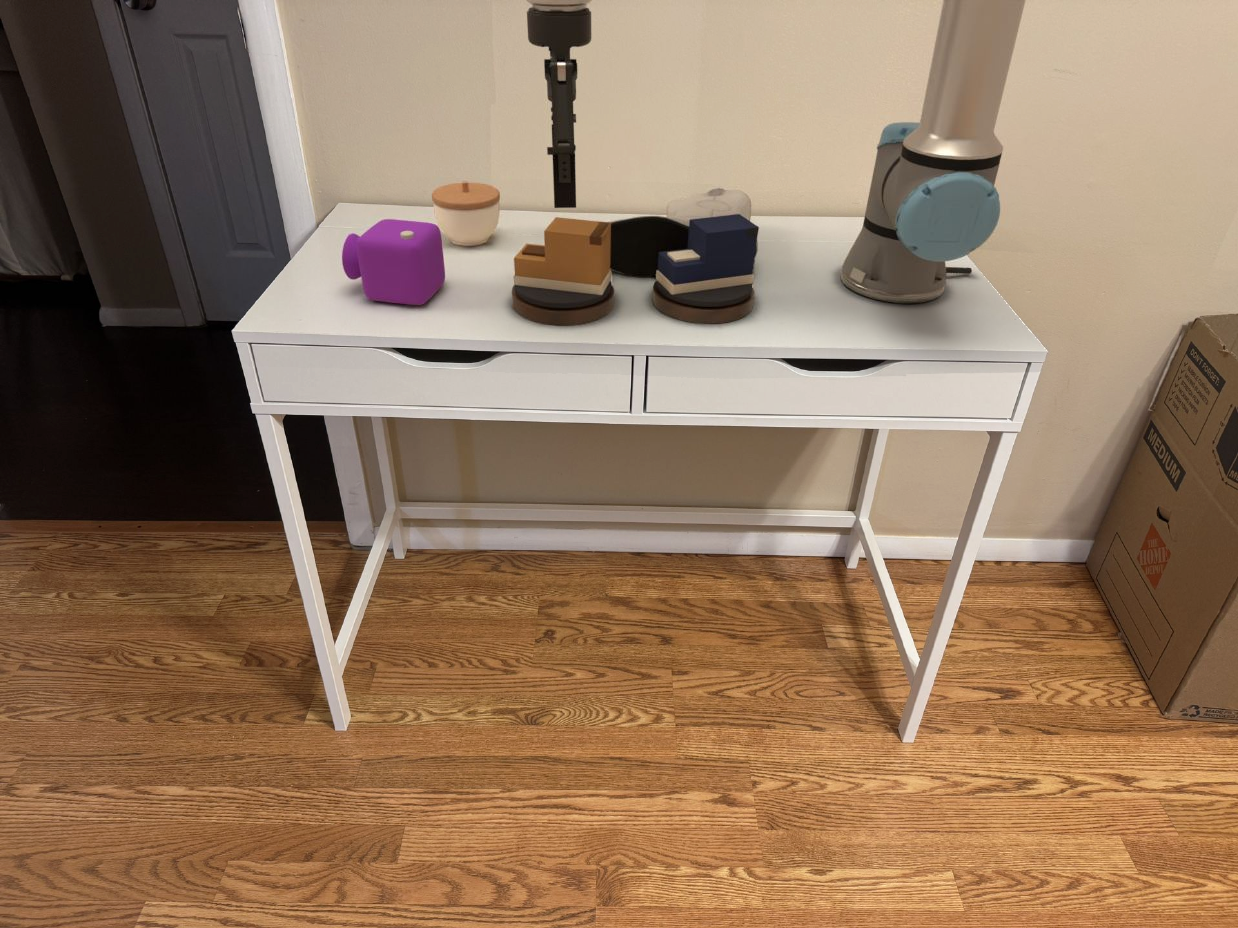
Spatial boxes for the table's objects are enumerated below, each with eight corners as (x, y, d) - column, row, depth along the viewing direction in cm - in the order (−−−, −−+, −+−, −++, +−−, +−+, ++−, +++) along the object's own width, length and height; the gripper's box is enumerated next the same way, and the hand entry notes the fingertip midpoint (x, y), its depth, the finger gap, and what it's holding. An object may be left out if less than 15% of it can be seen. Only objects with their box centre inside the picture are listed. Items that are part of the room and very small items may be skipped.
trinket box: (426, 235, 139) (419, 178, 133) (484, 224, 144) (480, 169, 138) (453, 256, 131) (447, 197, 126) (513, 244, 136) (510, 186, 131)
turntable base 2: (742, 281, 126) (743, 268, 125) (762, 323, 114) (764, 310, 113) (647, 282, 125) (648, 269, 124) (658, 324, 113) (659, 311, 112)
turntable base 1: (610, 282, 125) (610, 269, 124) (617, 325, 113) (617, 311, 112) (513, 282, 124) (513, 270, 122) (510, 326, 112) (510, 312, 111)
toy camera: (358, 276, 124) (346, 210, 118) (449, 278, 124) (443, 212, 118) (337, 307, 115) (324, 237, 110) (436, 309, 115) (428, 239, 110)
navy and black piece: (724, 263, 126) (731, 204, 120) (769, 299, 115) (778, 236, 110) (641, 274, 122) (644, 213, 116) (680, 312, 111) (684, 248, 106)
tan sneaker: (620, 274, 121) (622, 213, 116) (598, 313, 110) (599, 248, 105) (531, 264, 124) (528, 204, 118) (501, 302, 113) (497, 237, 107)
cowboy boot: (764, 235, 120) (763, 184, 140) (577, 206, 121) (603, 160, 142) (751, 296, 125) (752, 238, 146) (572, 268, 127) (598, 215, 147)
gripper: (528, -7, 107) (536, 163, 119) (524, 22, 86) (534, 223, 99) (586, -7, 107) (588, 162, 119) (596, 22, 87) (597, 222, 99)
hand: (564, 190), depth 109 cm, fingers open, 13 cm apart
